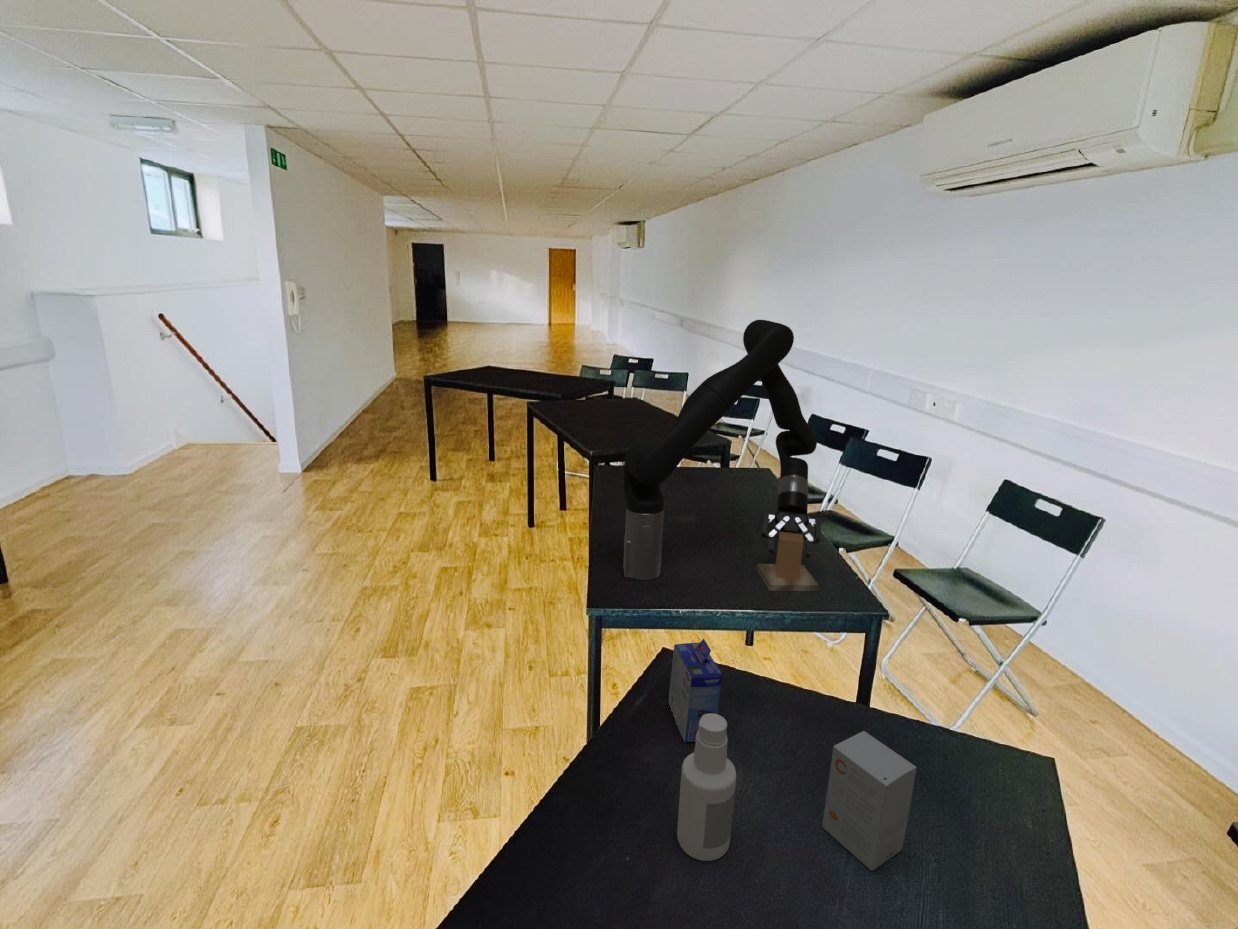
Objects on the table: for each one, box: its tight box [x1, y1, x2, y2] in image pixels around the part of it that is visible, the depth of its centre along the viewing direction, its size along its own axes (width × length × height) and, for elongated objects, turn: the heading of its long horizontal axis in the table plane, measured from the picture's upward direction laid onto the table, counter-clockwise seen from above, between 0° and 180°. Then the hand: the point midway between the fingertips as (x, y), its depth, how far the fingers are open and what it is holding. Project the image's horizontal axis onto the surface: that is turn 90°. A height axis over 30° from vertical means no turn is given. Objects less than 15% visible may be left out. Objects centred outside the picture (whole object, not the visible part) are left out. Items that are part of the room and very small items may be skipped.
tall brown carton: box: [775, 531, 804, 580], centre depth 156 cm, size 6×6×10 cm
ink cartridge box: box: [667, 638, 723, 743], centre depth 103 cm, size 10×6×14 cm, turn 12°
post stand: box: [756, 563, 820, 592], centre depth 157 cm, size 12×12×8 cm
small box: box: [821, 730, 917, 872], centre depth 82 cm, size 8×6×13 cm
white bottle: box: [676, 713, 737, 862], centre depth 80 cm, size 7×7×18 cm
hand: (789, 555), depth 155 cm, fingers open, 8 cm apart
